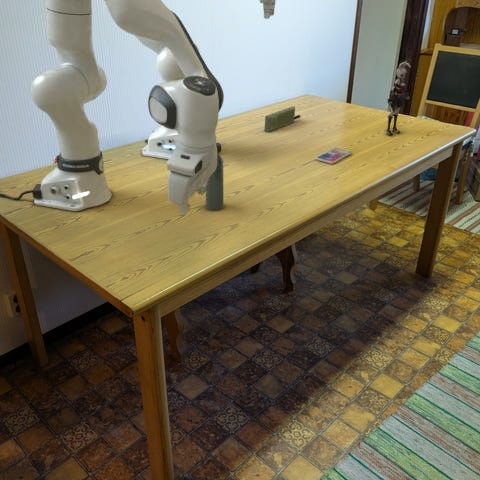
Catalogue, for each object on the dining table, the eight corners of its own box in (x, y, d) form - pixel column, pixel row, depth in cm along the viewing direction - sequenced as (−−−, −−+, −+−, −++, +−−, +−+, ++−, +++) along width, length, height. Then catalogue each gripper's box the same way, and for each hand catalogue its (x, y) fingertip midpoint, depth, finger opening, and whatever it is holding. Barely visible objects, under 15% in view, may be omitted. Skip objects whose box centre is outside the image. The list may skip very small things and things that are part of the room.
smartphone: (352, 151, 191) (332, 162, 181) (352, 154, 191) (332, 165, 181) (335, 147, 195) (315, 157, 185) (335, 149, 195) (314, 159, 185)
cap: (205, 153, 140) (205, 146, 139) (207, 148, 144) (207, 141, 143) (220, 154, 140) (220, 147, 139) (222, 149, 144) (222, 142, 143)
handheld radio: (263, 130, 215) (295, 118, 232) (269, 132, 213) (301, 119, 230) (264, 115, 212) (297, 103, 229) (270, 117, 210) (303, 105, 227)
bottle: (204, 209, 148) (203, 148, 139) (207, 202, 153) (205, 142, 144) (222, 210, 148) (222, 149, 139) (224, 203, 153) (224, 143, 143)
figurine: (387, 138, 208) (399, 62, 194) (375, 134, 212) (386, 59, 197) (406, 131, 217) (419, 57, 202) (394, 128, 221) (406, 55, 206)
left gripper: (201, 130, 124) (198, 179, 132) (163, 166, 108) (162, 219, 116) (225, 137, 122) (221, 186, 130) (190, 173, 106) (187, 227, 115)
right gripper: (265, -33, 165) (264, 13, 172) (255, -32, 148) (254, 20, 155) (284, -33, 164) (282, 14, 171) (276, -31, 147) (274, 20, 154)
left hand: (193, 202), depth 123 cm, fingers open, 8 cm apart
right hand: (268, 16), depth 163 cm, fingers open, 8 cm apart
